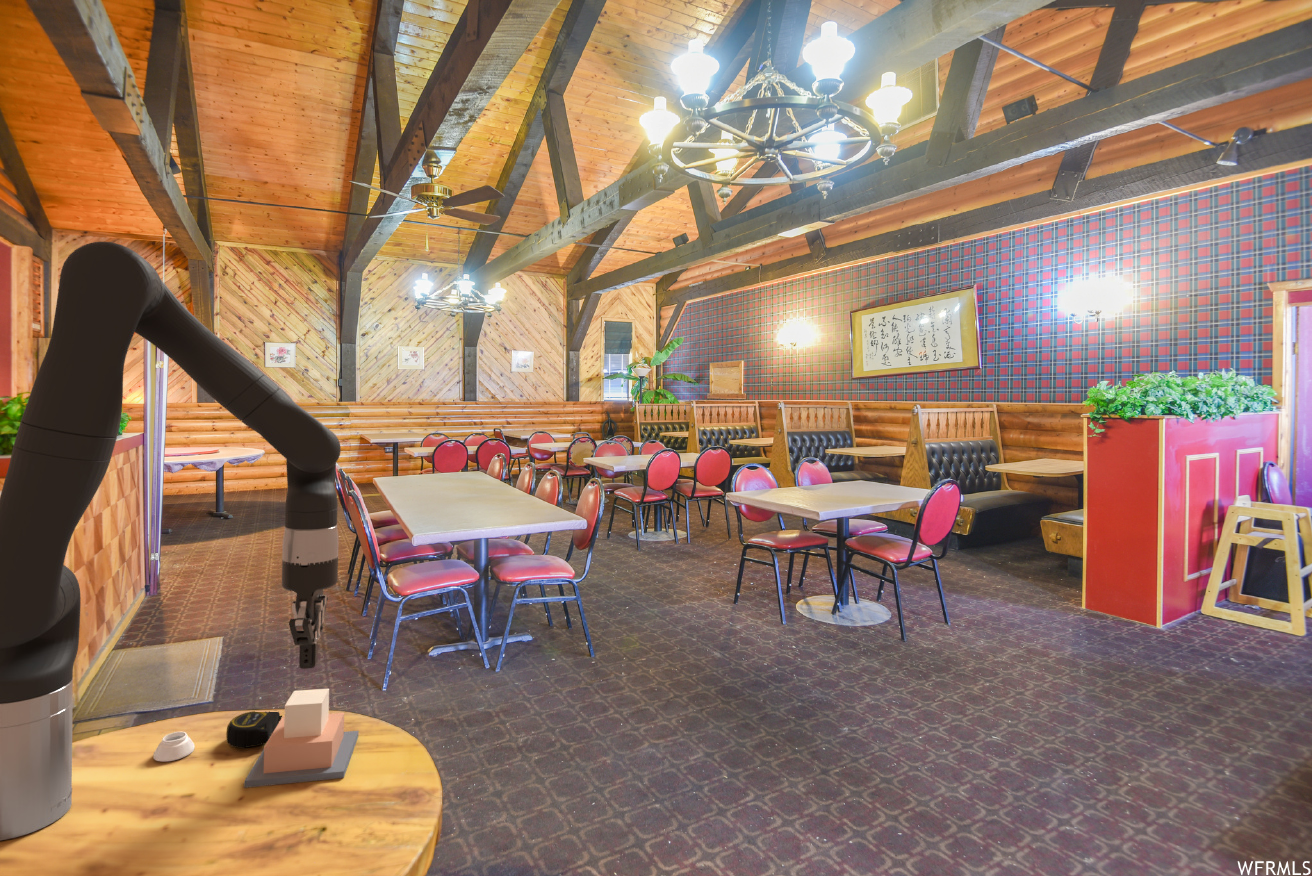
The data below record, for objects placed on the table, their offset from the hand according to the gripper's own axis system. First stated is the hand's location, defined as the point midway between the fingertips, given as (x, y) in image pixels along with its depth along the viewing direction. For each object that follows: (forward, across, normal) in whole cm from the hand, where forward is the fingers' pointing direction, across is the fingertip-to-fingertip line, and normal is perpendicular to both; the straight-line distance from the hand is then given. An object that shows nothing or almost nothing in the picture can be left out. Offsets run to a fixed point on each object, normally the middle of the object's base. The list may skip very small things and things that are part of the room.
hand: (308, 666), depth 97 cm
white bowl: (+15, -5, -20) cm, 25 cm away
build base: (+15, 0, 0) cm, 15 cm away
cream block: (+10, 0, 0) cm, 10 cm away
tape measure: (+15, -8, -9) cm, 19 cm away
